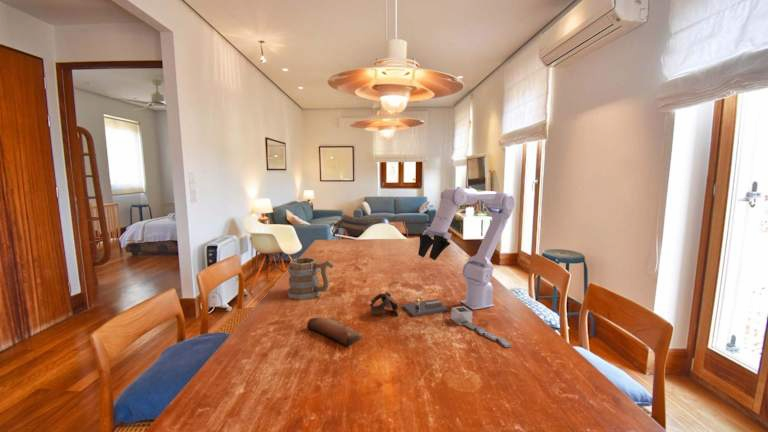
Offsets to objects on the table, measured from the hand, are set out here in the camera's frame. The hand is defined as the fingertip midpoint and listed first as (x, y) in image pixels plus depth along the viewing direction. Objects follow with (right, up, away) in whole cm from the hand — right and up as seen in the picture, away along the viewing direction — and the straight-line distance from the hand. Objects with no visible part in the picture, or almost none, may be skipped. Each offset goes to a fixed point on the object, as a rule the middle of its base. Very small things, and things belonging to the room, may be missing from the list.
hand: (426, 257), depth 107 cm
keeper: (+1, -21, +13) cm, 24 cm away
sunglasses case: (-29, -23, -5) cm, 38 cm away
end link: (+12, -22, +3) cm, 25 cm away
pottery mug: (-13, -21, +10) cm, 27 cm away
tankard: (-43, -19, +26) cm, 54 cm away
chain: (+18, -23, -6) cm, 30 cm away
